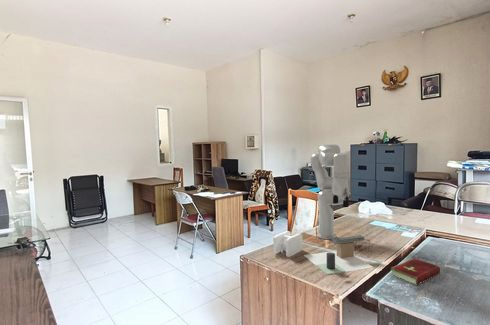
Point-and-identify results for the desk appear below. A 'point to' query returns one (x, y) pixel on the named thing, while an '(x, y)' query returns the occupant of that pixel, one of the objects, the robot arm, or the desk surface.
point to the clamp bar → (348, 239)
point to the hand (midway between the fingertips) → (340, 205)
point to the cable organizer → (287, 243)
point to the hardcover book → (415, 270)
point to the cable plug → (330, 260)
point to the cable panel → (339, 260)
